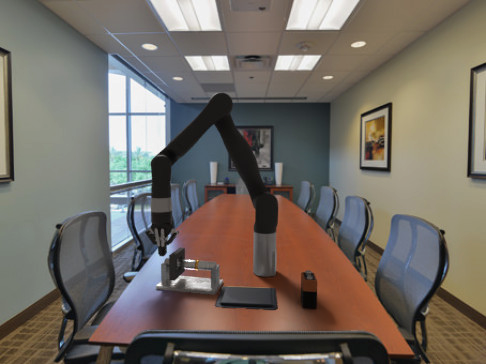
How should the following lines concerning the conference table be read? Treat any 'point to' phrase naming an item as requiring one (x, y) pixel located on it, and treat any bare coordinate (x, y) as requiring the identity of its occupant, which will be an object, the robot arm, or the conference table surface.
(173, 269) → the dark grey wedge plate
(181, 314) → the conference table surface
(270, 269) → the robot arm
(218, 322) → the conference table surface
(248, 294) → the wallet
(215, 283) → the pipe stand
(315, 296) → the battery
